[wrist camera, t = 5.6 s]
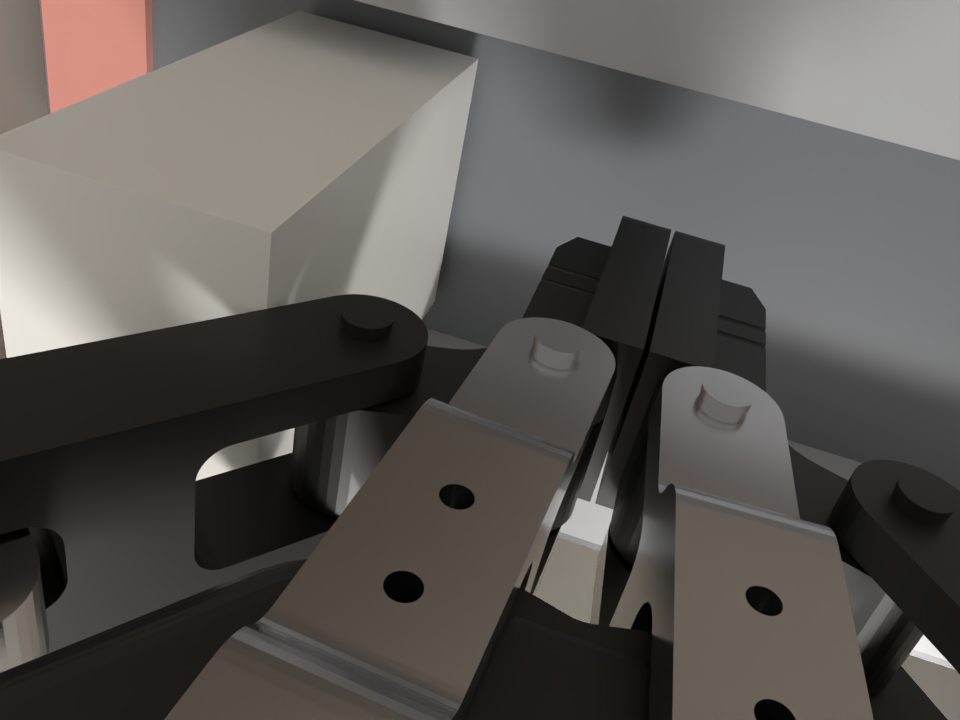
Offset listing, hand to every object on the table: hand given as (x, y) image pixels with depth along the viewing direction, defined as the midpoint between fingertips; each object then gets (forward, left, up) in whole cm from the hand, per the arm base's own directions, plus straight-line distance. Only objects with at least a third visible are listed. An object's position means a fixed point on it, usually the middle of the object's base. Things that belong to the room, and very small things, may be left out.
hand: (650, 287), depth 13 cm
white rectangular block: (+5, 0, -2) cm, 5 cm away
